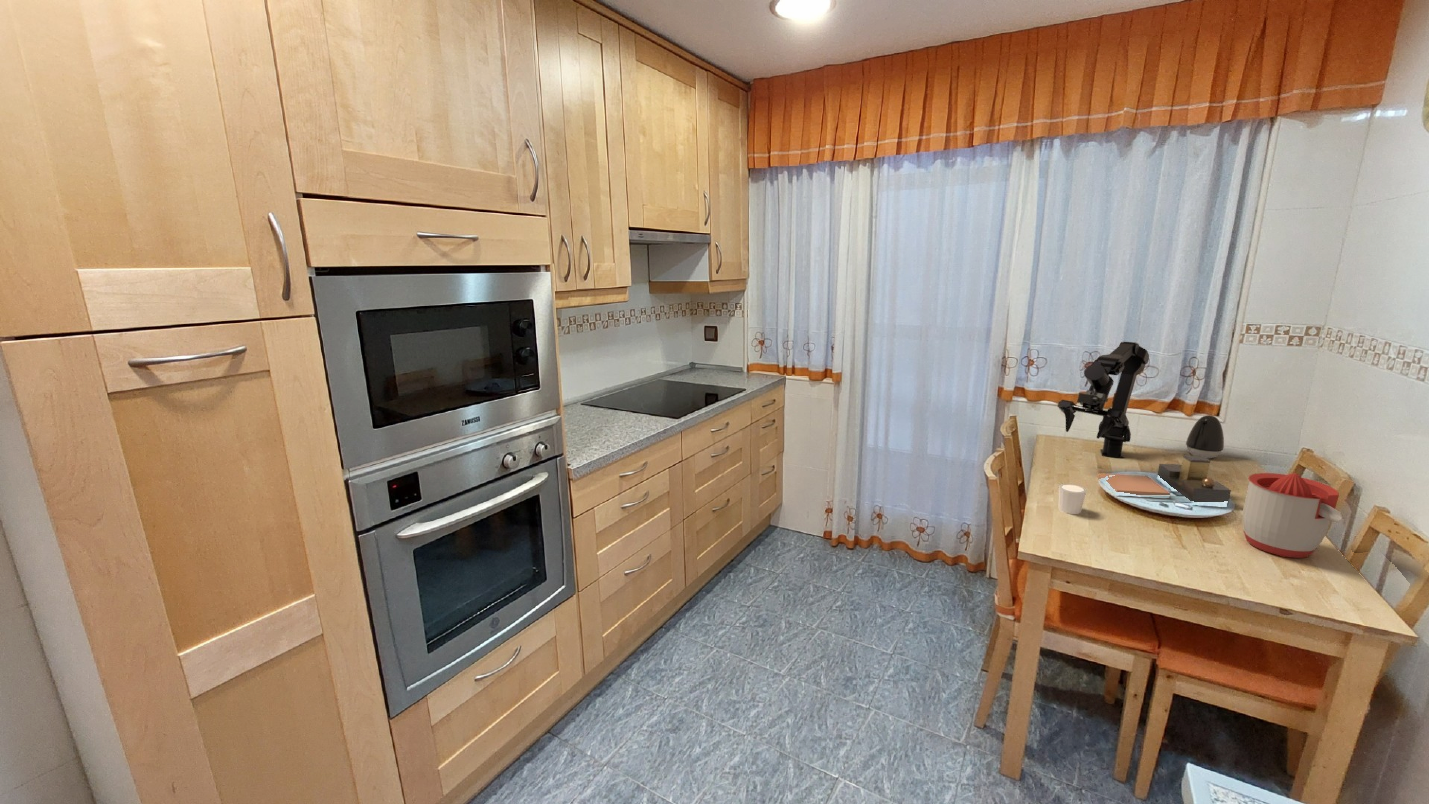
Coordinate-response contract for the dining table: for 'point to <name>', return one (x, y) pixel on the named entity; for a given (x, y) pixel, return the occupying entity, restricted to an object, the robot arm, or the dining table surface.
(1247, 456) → the dining table surface
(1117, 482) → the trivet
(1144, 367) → the robot arm
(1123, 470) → the dining table surface
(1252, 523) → the citrus juicer
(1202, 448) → the dark grey egg shape
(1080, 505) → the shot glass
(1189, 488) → the body
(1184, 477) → the tan wooden block
